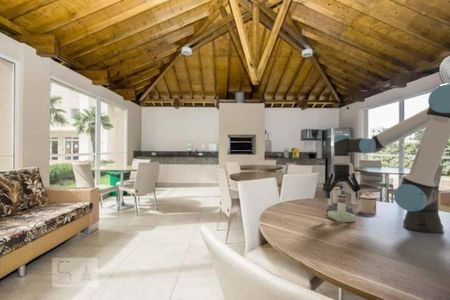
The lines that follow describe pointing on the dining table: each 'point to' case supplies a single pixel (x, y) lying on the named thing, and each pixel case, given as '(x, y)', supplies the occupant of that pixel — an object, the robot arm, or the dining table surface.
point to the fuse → (336, 195)
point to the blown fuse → (341, 205)
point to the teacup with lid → (368, 203)
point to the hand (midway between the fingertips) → (341, 204)
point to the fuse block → (335, 208)
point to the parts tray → (341, 217)
